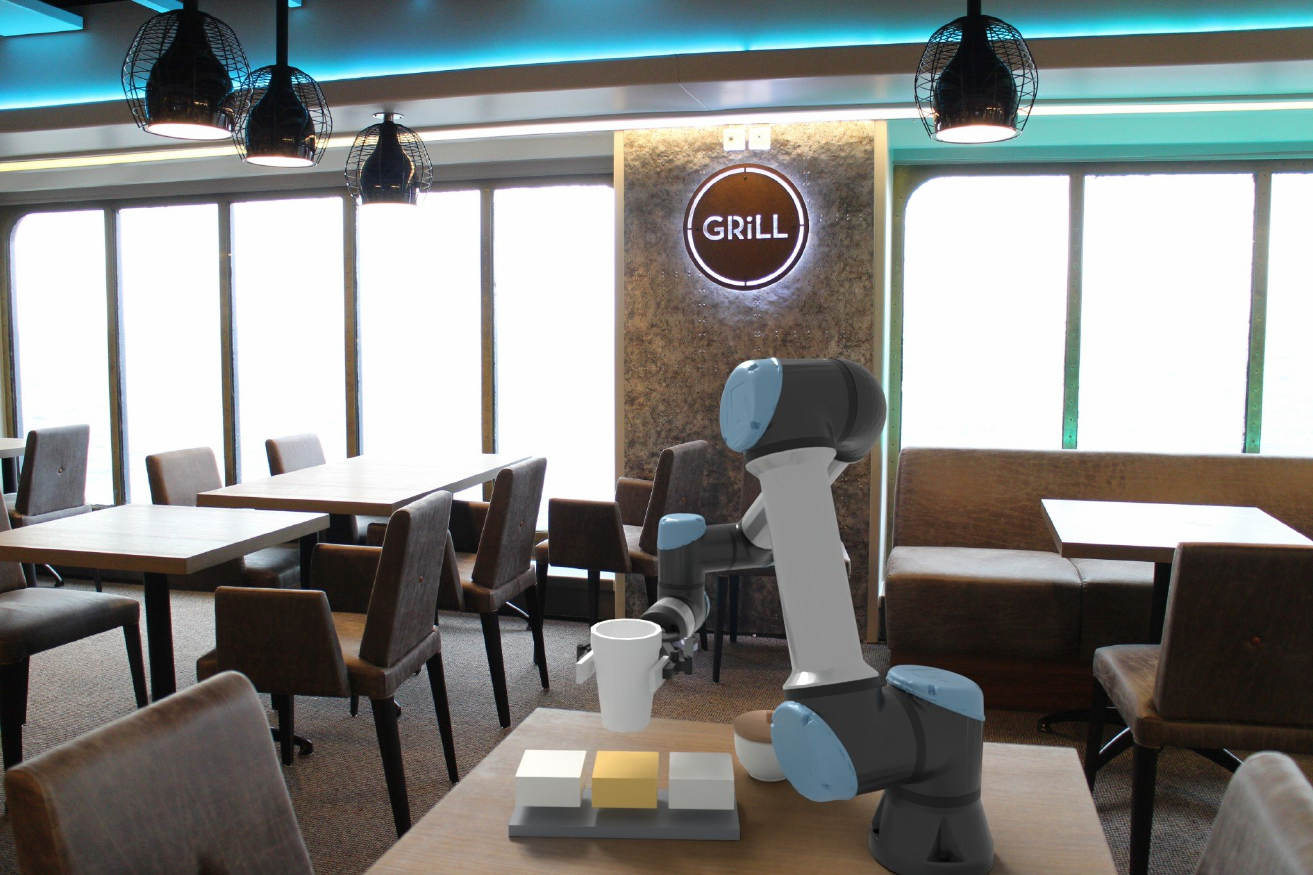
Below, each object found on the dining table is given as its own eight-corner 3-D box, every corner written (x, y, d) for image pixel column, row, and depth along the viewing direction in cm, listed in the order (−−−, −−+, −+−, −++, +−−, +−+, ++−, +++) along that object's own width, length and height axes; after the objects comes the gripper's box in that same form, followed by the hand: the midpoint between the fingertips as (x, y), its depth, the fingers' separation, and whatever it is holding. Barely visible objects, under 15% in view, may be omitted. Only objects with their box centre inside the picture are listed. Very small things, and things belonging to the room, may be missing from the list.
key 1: (586, 778, 136) (586, 750, 136) (580, 806, 128) (579, 777, 128) (525, 777, 137) (525, 749, 136) (515, 805, 128) (515, 776, 128)
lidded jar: (721, 764, 150) (721, 704, 149) (783, 753, 153) (784, 695, 153) (753, 793, 140) (753, 730, 139) (818, 782, 144) (819, 720, 143)
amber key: (658, 779, 136) (658, 751, 136) (656, 808, 128) (656, 778, 127) (597, 778, 136) (597, 750, 136) (591, 807, 128) (591, 777, 128)
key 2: (730, 780, 136) (731, 752, 135) (733, 809, 127) (734, 779, 127) (669, 779, 136) (669, 751, 136) (668, 808, 128) (668, 778, 127)
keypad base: (735, 800, 137) (735, 790, 137) (739, 840, 126) (739, 829, 126) (522, 797, 138) (522, 787, 138) (508, 836, 127) (508, 825, 127)
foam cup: (664, 711, 135) (664, 620, 134) (657, 738, 126) (658, 640, 125) (596, 708, 136) (596, 617, 135) (584, 735, 127) (584, 638, 126)
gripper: (734, 660, 145) (697, 715, 123) (595, 646, 151) (536, 696, 130) (735, 611, 144) (697, 657, 123) (595, 599, 150) (536, 641, 129)
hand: (615, 677), depth 126 cm, fingers closed on foam cup, 9 cm apart
